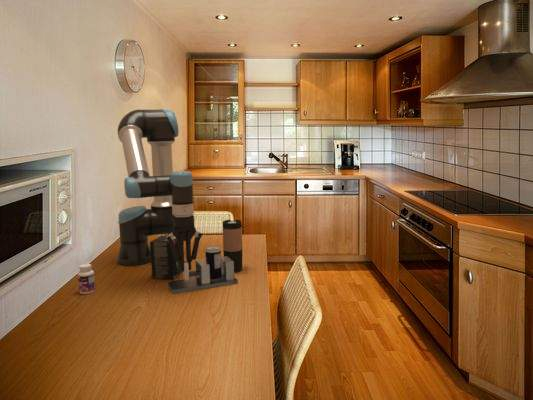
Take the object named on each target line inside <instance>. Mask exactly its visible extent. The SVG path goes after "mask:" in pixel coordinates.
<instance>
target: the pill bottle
mask: <svg viewBox="0 0 533 400" xmlns="http://www.w3.org/2000/svg"><path fill="white" fill-rule="evenodd" d="M78 268H79V271H78V273H77V279H78V291H79V294H80V295H81V294H82V295H87V294H92V293H94V292H96V281H95V279H96V278H95V271H94V270H93V269H92V264H90V263H83V264H80V265H79V266H78Z"/></svg>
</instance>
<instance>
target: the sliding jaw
mask: <svg viewBox="0 0 533 400" xmlns="http://www.w3.org/2000/svg"><path fill="white" fill-rule="evenodd" d="M194 263H195V270H189V278H194V277H195V278H196V279H197V280H198V281H199V282H200V283H201V284H202V285H203V284H210V268H209V264H208V263H207V262H206V259H204V258H203V259H195V261H194Z"/></svg>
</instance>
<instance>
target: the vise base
mask: <svg viewBox="0 0 533 400" xmlns="http://www.w3.org/2000/svg"><path fill="white" fill-rule="evenodd" d="M221 268H222V277H221V278H220V279H219V280H217V281H210V284H203V285H202V284H201V283H200V282H199V281H198V280H197V279H196V277H189V280H186V281H185V280H184V279H178V280H170V281H166V286H167V287H168V288H169V290H170V292H171V293H172V295H174V294H179V293H185V292H192V291H198V290H199V291H200V290H205V289H212V288H218V287H223V286H228V285H236V284H238V282H239V281H238V278H236V277H235V273H234V261H232V260H231V259H230V258H228V257H227V256H224V255H223V256H221Z"/></svg>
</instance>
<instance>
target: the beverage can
mask: <svg viewBox="0 0 533 400" xmlns="http://www.w3.org/2000/svg"><path fill="white" fill-rule="evenodd" d="M204 253H205V261H206V262H207V263H208V264H209V268H210V281H217V280H219V279H220V278H221V277H222V268H221V257H222V250H221V248H220V246H218V245H211V246H206V250H205V252H204Z"/></svg>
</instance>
